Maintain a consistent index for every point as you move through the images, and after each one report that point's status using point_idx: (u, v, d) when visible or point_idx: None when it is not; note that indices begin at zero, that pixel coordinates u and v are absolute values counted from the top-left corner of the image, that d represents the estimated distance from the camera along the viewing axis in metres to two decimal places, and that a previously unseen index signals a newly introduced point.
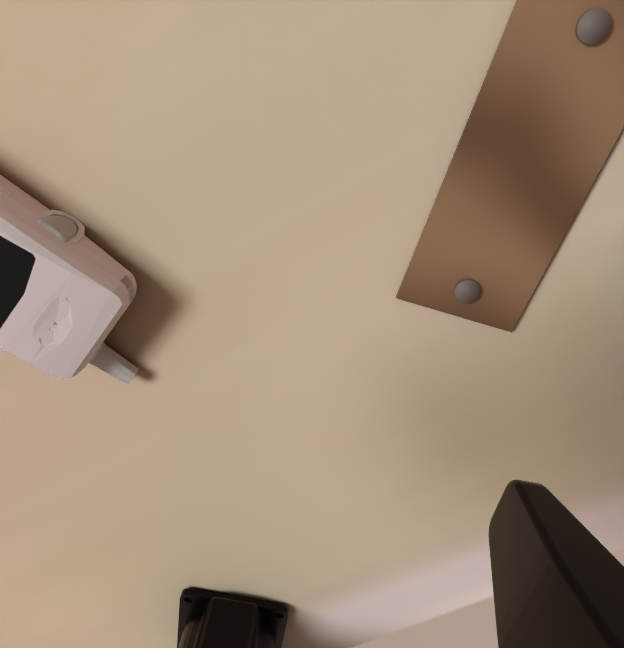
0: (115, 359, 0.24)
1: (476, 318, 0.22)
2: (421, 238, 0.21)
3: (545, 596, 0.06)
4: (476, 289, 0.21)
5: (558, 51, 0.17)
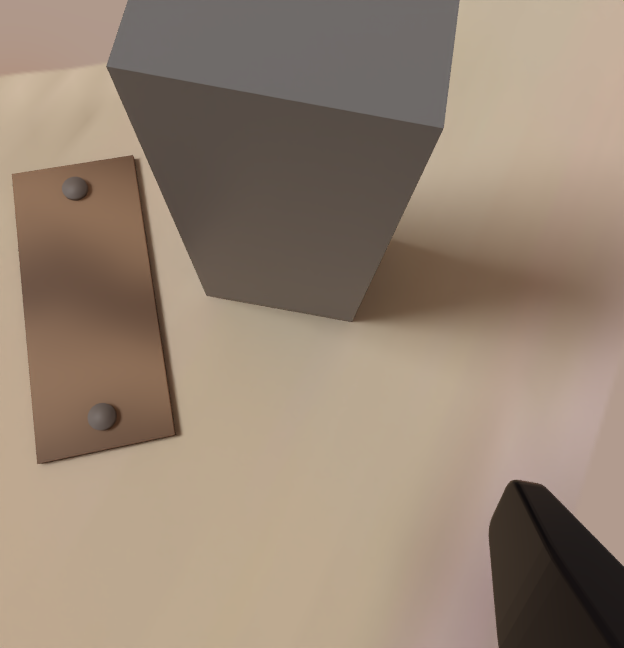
0: None
1: (131, 439, 0.20)
2: (32, 392, 0.20)
3: (545, 596, 0.06)
4: (107, 409, 0.20)
5: (62, 212, 0.22)
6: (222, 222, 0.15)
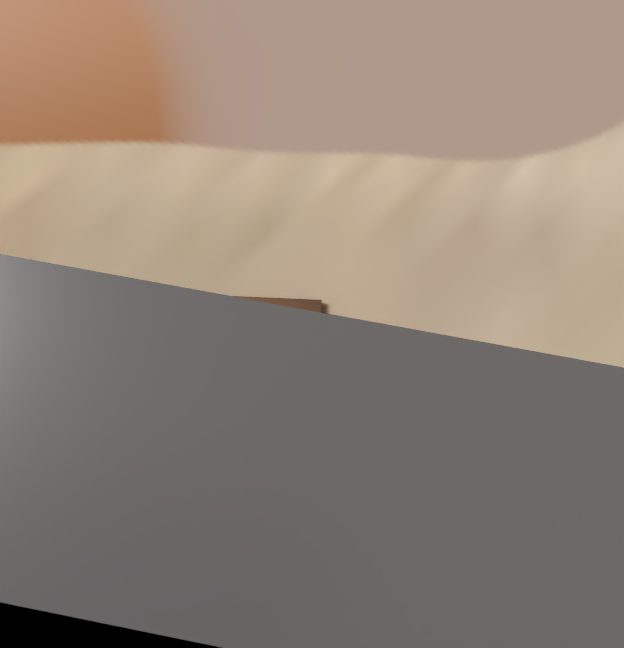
0: None
1: None
2: None
3: None
4: None
5: None
6: None
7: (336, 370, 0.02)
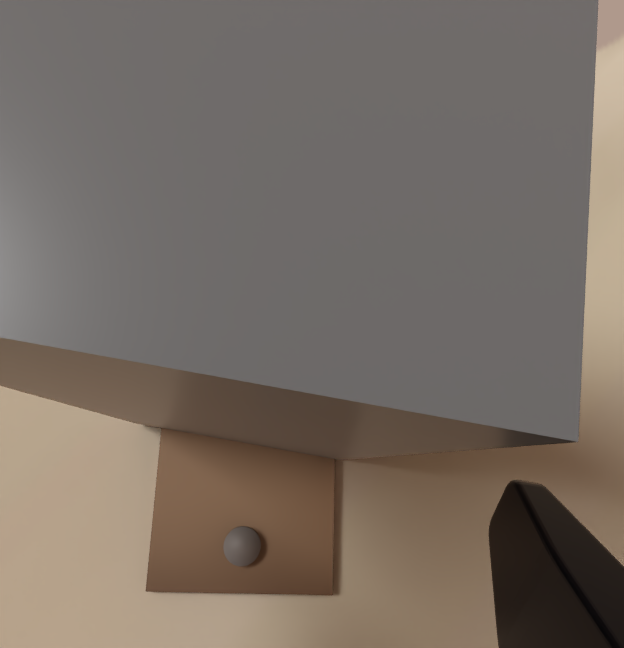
0: None
1: (273, 587, 0.15)
2: (156, 486, 0.15)
3: (545, 596, 0.06)
4: (252, 537, 0.15)
5: None
6: (100, 404, 0.08)
7: None
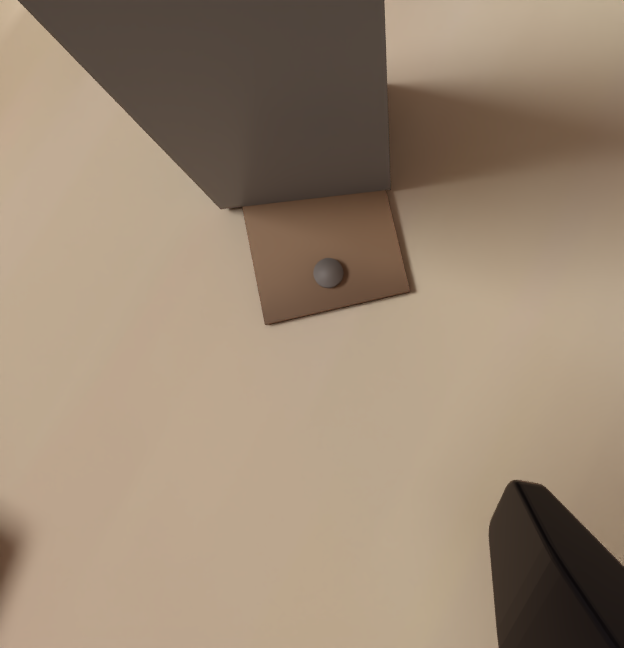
0: None
1: (362, 297, 0.18)
2: (251, 250, 0.19)
3: (545, 596, 0.06)
4: (334, 264, 0.18)
5: None
6: (176, 91, 0.12)
7: None
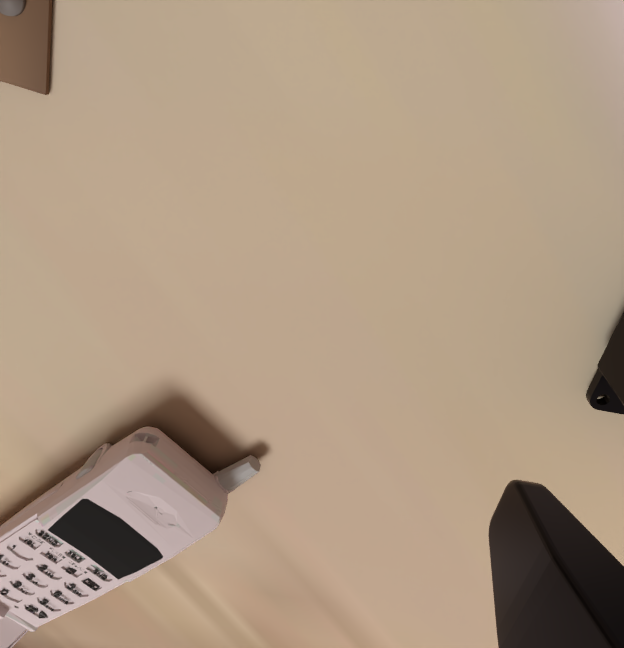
0: (230, 470, 0.24)
1: None
2: None
3: (545, 596, 0.06)
4: None
5: None
6: None
7: None
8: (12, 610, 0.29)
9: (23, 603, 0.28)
